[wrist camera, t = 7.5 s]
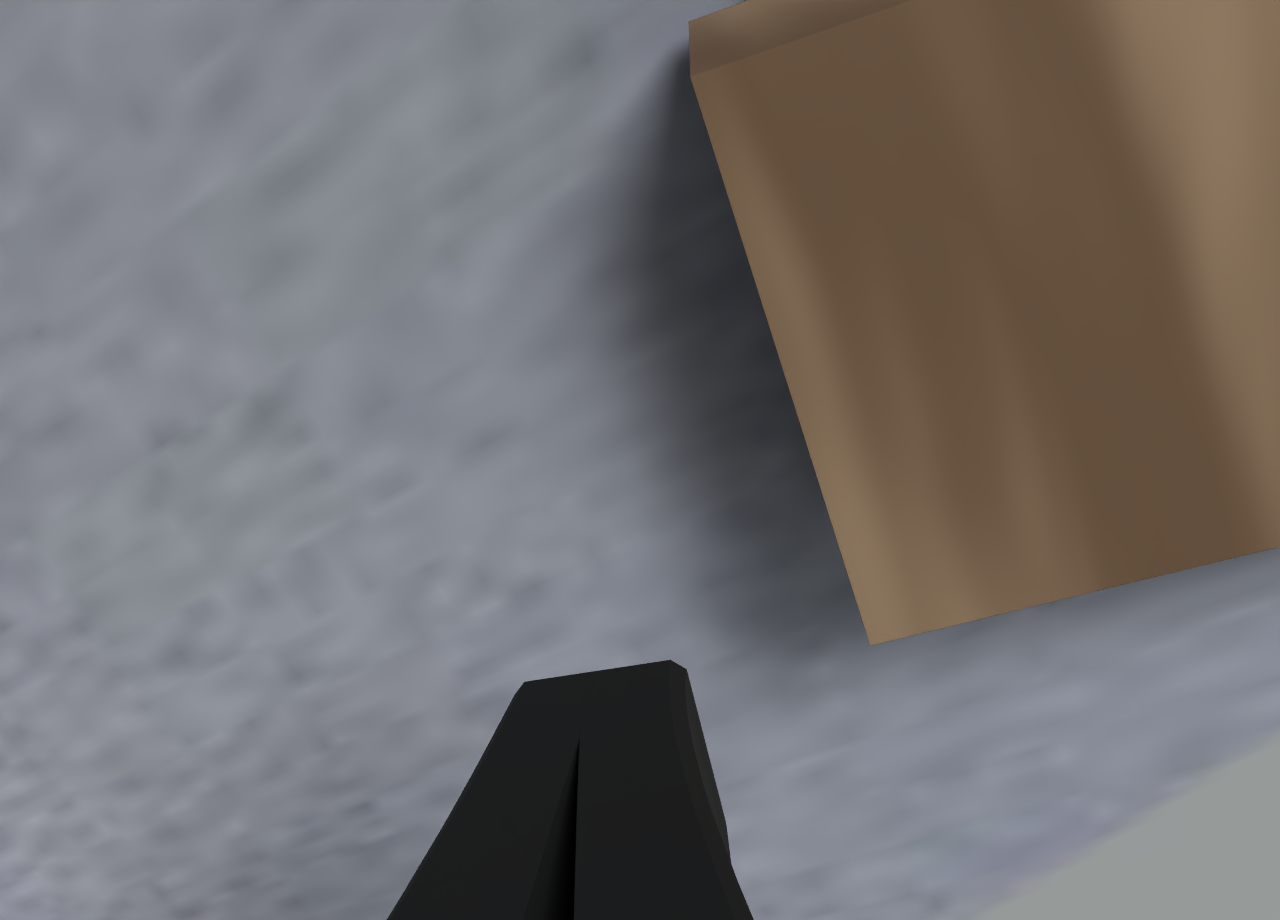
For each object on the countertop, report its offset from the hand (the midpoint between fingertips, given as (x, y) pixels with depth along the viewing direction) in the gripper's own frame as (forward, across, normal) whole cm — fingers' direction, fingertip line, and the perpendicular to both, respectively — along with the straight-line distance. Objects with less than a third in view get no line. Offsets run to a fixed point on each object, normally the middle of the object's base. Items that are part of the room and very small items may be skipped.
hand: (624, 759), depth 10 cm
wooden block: (+7, -2, 0) cm, 7 cm away
